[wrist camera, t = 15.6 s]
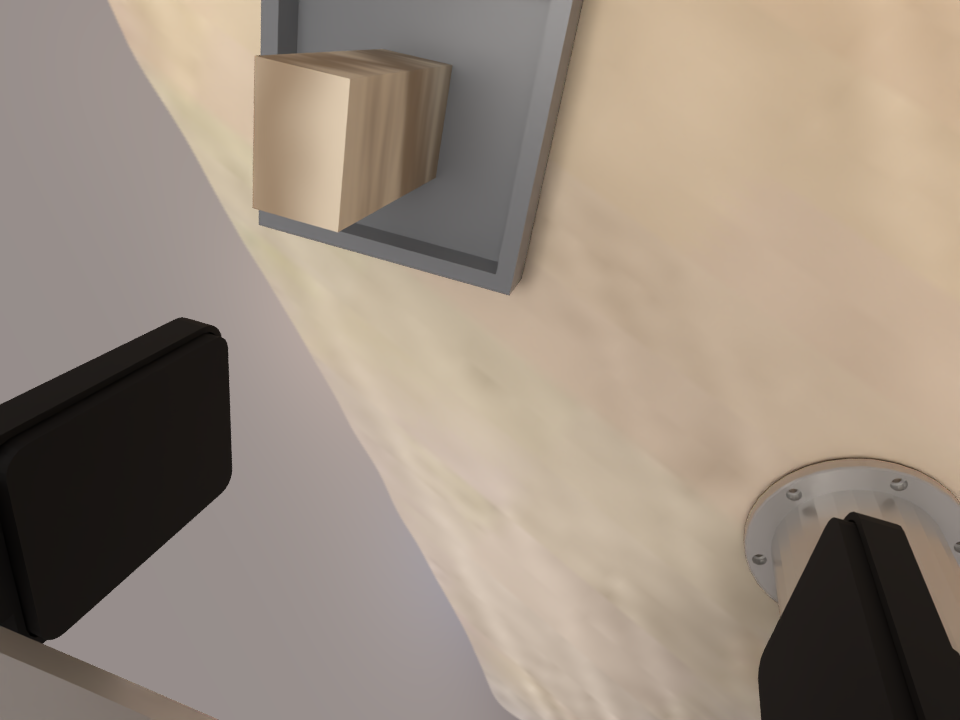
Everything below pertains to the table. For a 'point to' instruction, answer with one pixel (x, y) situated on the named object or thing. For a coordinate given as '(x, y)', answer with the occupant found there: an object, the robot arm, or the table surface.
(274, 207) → the birch block
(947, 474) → the table surface
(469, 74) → the grey tray
